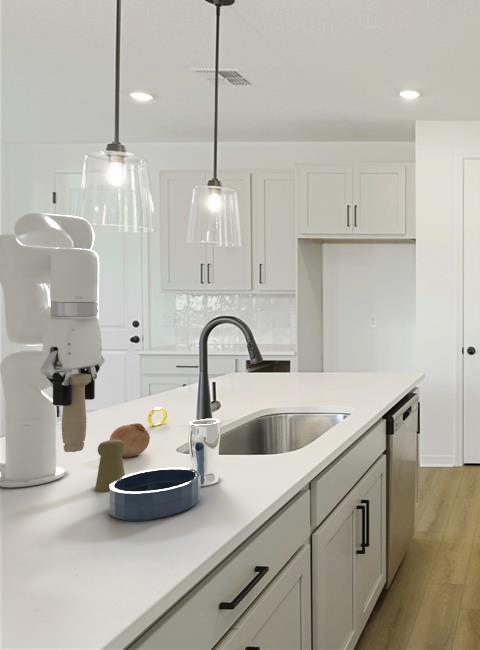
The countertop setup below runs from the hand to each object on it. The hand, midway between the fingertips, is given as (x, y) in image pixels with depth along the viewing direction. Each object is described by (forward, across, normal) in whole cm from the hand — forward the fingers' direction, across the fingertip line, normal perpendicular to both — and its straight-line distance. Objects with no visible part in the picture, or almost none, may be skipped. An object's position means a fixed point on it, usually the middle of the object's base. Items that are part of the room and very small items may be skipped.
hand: (74, 401), depth 112 cm
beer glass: (+25, -26, +12) cm, 38 cm away
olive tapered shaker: (+25, -22, -8) cm, 34 cm away
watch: (+26, -82, -34) cm, 93 cm away
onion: (+26, -46, -20) cm, 57 cm away
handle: (+10, 0, 0) cm, 10 cm away
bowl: (+25, -10, +10) cm, 29 cm away
